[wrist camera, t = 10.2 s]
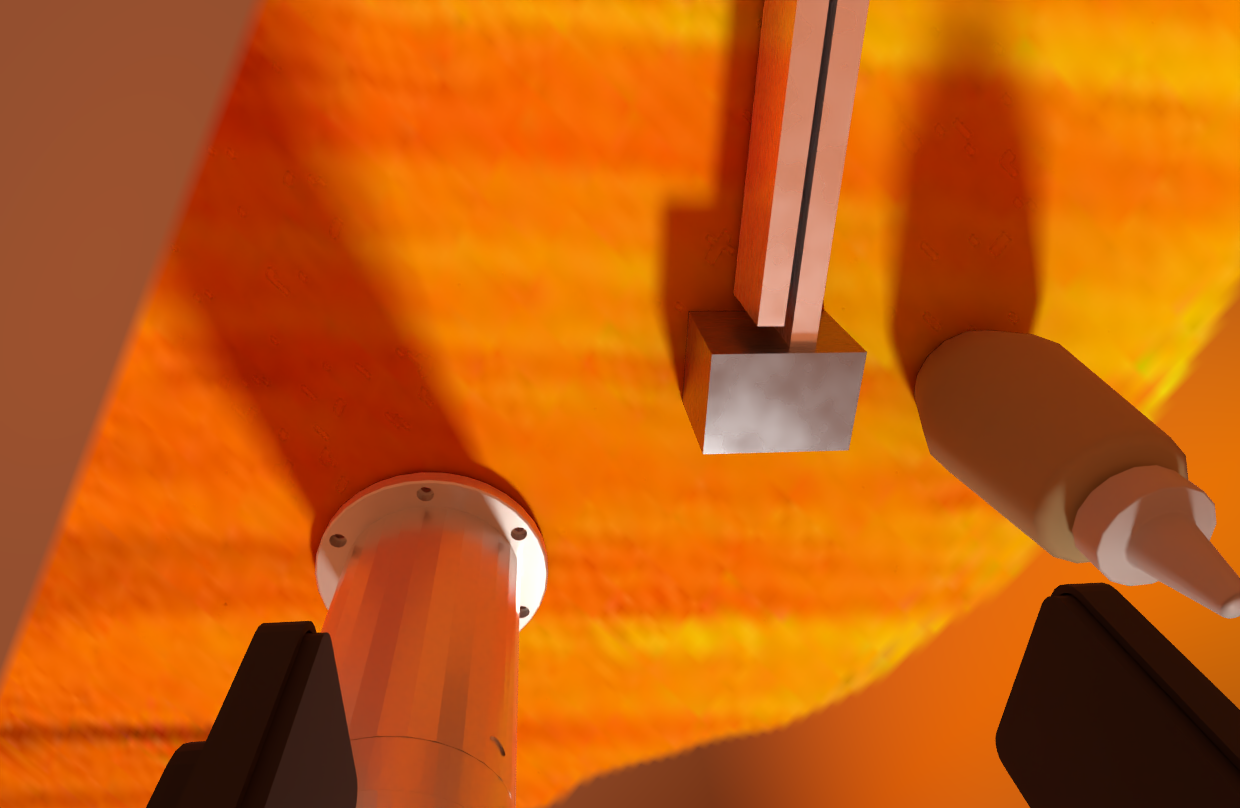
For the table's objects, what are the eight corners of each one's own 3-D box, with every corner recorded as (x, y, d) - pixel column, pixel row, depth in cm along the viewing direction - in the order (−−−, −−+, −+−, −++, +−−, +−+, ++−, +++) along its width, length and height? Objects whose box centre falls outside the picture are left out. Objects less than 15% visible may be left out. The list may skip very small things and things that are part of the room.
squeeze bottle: (862, 405, 42) (1069, 647, 26) (962, 280, 39) (1264, 463, 23) (967, 465, 44) (1215, 719, 28) (1067, 352, 41) (1405, 562, 25)
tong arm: (756, 293, 38) (784, 326, 34) (729, 293, 38) (753, 326, 33) (813, -183, 29) (859, -216, 25) (778, -186, 29) (818, -220, 25)
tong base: (810, 398, 41) (848, 450, 36) (682, 401, 40) (703, 454, 35) (897, -161, 30) (969, -196, 25) (723, -171, 29) (762, -209, 24)
